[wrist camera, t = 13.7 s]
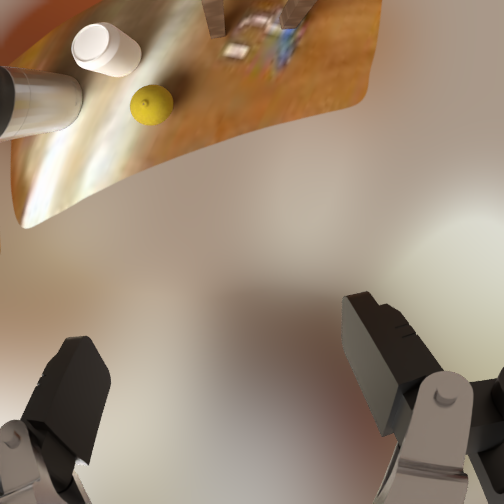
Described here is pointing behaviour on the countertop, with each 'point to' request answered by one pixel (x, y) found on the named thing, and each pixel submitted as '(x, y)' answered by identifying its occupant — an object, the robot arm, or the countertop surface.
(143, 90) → the lemon
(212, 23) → the stand
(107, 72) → the beverage can
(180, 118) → the countertop surface
